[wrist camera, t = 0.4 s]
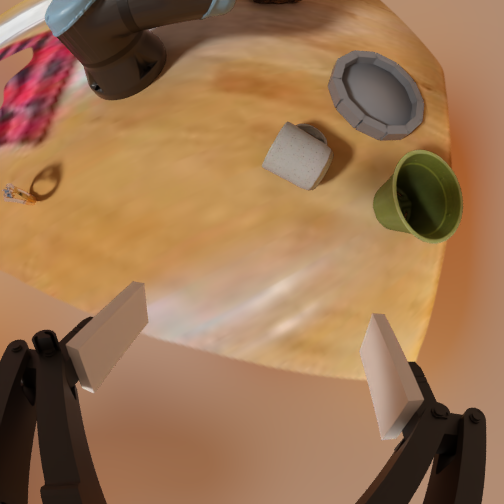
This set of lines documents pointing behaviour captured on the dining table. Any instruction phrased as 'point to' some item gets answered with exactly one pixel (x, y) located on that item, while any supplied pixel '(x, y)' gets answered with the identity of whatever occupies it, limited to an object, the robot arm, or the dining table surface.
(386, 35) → the dining table surface
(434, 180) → the plant pot
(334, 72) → the round tray
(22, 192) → the ring
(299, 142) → the ceramic mug
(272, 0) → the decorative rock
